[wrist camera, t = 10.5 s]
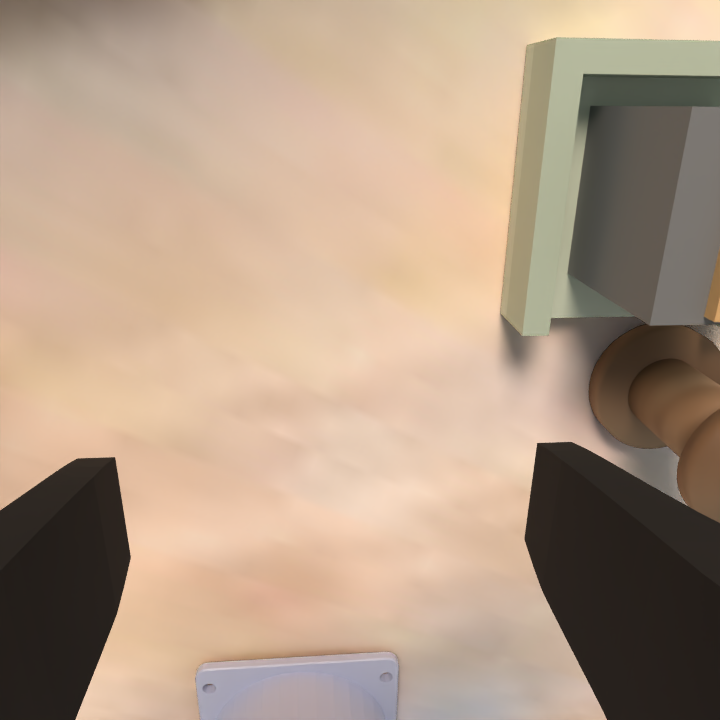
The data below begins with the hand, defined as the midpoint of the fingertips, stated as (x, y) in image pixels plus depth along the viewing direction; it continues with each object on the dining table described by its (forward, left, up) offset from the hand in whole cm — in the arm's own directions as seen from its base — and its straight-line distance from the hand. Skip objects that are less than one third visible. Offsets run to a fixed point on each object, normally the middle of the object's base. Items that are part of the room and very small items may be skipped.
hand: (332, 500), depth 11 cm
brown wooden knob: (-2, -12, -10) cm, 15 cm away
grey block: (+4, -10, -9) cm, 14 cm away
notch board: (+4, -10, -10) cm, 14 cm away
